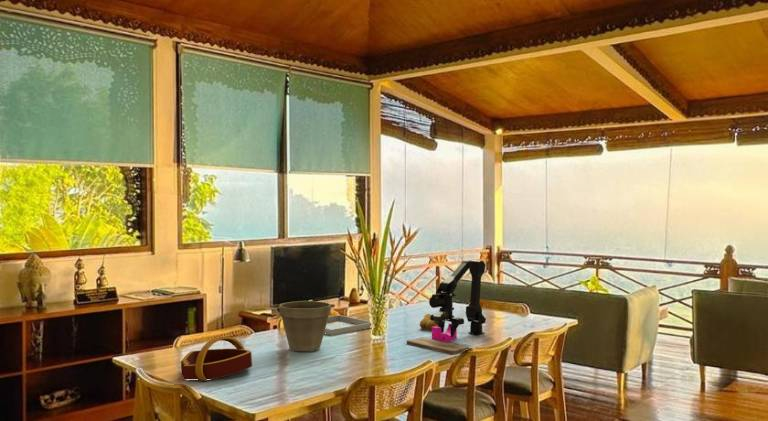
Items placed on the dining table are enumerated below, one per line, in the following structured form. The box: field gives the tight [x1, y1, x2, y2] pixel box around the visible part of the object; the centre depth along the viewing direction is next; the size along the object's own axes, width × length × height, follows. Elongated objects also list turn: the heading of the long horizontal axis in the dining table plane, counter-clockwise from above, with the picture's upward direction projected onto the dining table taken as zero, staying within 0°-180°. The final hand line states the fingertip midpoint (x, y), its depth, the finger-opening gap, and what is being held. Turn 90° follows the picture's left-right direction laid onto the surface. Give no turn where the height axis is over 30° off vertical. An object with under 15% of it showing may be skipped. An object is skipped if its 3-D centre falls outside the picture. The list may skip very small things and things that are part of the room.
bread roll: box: [419, 313, 438, 331], centre depth 355 cm, size 13×10×8 cm
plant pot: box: [278, 300, 332, 352], centre depth 309 cm, size 25×25×22 cm
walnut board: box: [406, 336, 470, 355], centre depth 313 cm, size 12×30×2 cm, turn 43°
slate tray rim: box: [324, 314, 371, 336], centre depth 360 cm, size 31×31×3 cm
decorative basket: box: [180, 335, 253, 382], centre depth 268 cm, size 34×29×15 cm
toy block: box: [431, 322, 458, 343], centre depth 328 cm, size 15×6×8 cm, turn 133°
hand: (446, 335), depth 329 cm, fingers open, 6 cm apart
